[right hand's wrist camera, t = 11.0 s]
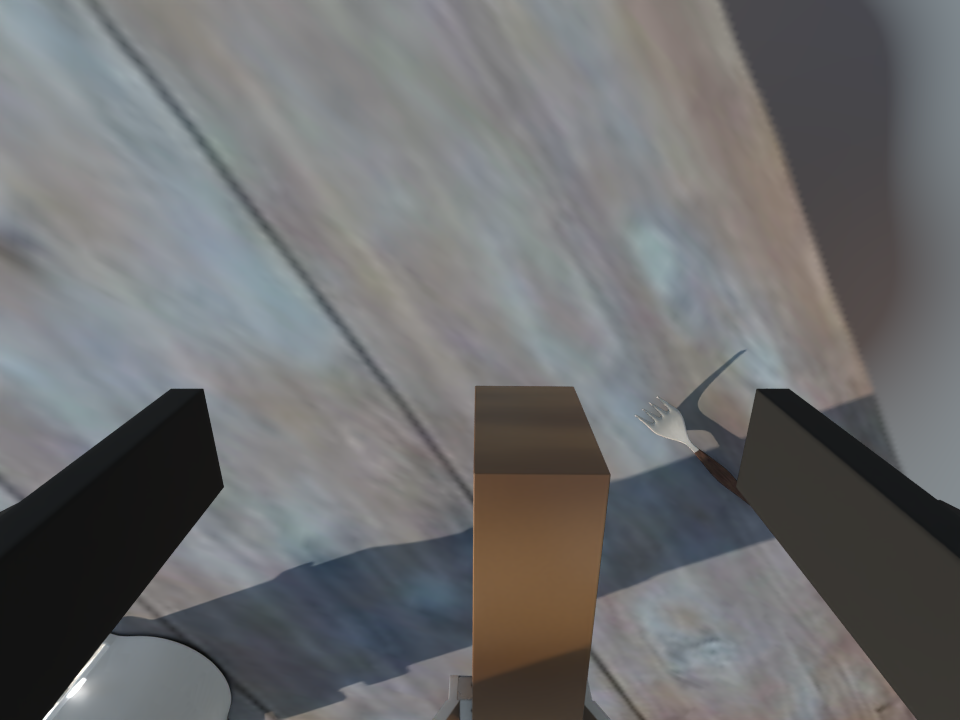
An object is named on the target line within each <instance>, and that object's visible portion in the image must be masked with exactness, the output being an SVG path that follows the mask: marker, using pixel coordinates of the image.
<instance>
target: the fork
mask: <svg viewBox="0 0 960 720" xmlns="http://www.w3.org/2000/svg"><path fill="white" fill-rule="evenodd" d="M657 398H658V399H659V400H660V401H661V402H662V403H663V404H664V405H665V406H666V407H667V408H668V411H664V410H662V409H660V408H659V407H657V406H655V405H654V404H652V403H650V404H651V405H652V406H653V407H654V408H655V409H656V410H657V411H658V412H659V413H660V414H661V417H657V416H655V415H654V414H652V413H650V412H648V411H646V410H645V409H643V410H644V411H645V412H646V413H647V414H648V415H649V416H650V417H651V418H652V419H653V420H654V423H650V422H648V421H647V420H645V419H643V418H641V417H639V416H637V415H635V416H636V417H637V418H639V419H640V420H641V421H642V422H643V423H644V424H646V425H647V426H648V427H649V428H650V429H651V430H652V431H653V432H654V433H656V434H658V435H660V436H662V437H665V438H669V439H672V440H676V441H679V442H682V443H684V444H686V445H687V446H688V447H689V448H690V449H691V450H692V451H693V452H694V453H695V454H696V456H697V457H698V458H699V459H700V461H701V462H702V463H703V464H704V466H705V467H706V468H707V469H708V470H709V472H710V473H711V474H712V475H713V476H714V477H715V478H716V479H717V480H718V481H719V482H720V483H721V484H722V485H724V486H725V487H726V488H728V489H729V490H730V491H732V492H733V493H734V494H736V495H737V496H739V497H740V498H741V499H743V500H744V501H745V502H746V503H748V502H747V500H746V499H745V498H744V497H743V495H742V494H741V493H740V491H739V490H738V489H737V488H736V485H737V480H736V479H735V478H734V477H733V476H732V475H731V474H730V473H729V472H728V471H727V470H726V469H725V468H724V467H723V466H721V465H720V464H719V463H718V462H716V461H715V460H714V459H712V458H711V457H709V456H708V455H707V454H705V453H704V452H703V451H701V450H700V449H699V448H697V447H696V446H695V445H694V444H692V442H691V441H690V440H689V438H688V434H687V430H686V426H685V422H684V418H683V416H682V414H681V413H680V411H679V410H678V409H676V408H675V407H673V406H672V405H670V404H669V403H668V402H666V401H664V400H663V399H661V398H660V397H658V396H657ZM748 504H749V503H748ZM749 505H750V504H749Z"/></svg>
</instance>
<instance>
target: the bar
mask: <svg viewBox="0 0 960 720" xmlns="http://www.w3.org/2000/svg"><path fill="white" fill-rule="evenodd" d="M609 484H610V472H609V470H608V467H607V465H606V463H605V460H604V458H603V456H602V453H601V451H600V448H599V446H598V444H597V441H596V439H595V436H594V434H593V432H592V429H591V427H590V425H589V422H588V420H587V417H586V415H585V413H584V410H583V408H582V406H581V403H580V401H579V398H578V396H577V394H576V391H575V389H574V387H556V386H475V421H474V484H473V665H472V720H583V713H584V704H585V695H586V686H587V678H588V669H589V660H590V651H591V643H592V634H593V625H594V616H595V607H596V599H597V590H598V581H599V572H600V563H601V555H602V546H603V537H604V528H605V519H606V511H607V502H608V493H609Z"/></svg>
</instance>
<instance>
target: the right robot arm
mask: <svg viewBox="0 0 960 720" xmlns="http://www.w3.org/2000/svg"><path fill="white" fill-rule="evenodd" d="M223 488H224V485H223V480H222V475H221V471H220V466H219V461H218V456H217V451H216V447H215V442H214V437H213V432H212V428H211V423H210V418H209V413H208V408H207V404H206V399H205V394H204V389H170V390H169V391H168V392H166V393H165V394H163V395H162V396H161V397H159V398H158V399H157V400H155V401H154V402H153V403H151V404H150V405H149V406H147V407H146V408H145V409H143V410H142V411H141V412H139V413H138V414H137V415H135V416H134V417H133V418H131V419H130V420H129V421H127V422H126V423H125V424H123V425H122V426H121V427H119V428H118V429H117V430H115V431H114V432H113V433H111V434H110V435H109V436H107V437H106V438H105V439H103V440H102V441H101V442H99V443H98V444H97V445H95V446H94V447H93V448H91V449H90V450H89V451H87V452H86V453H85V454H83V455H82V456H81V457H79V458H78V459H77V460H75V461H74V462H73V463H71V464H70V465H69V466H67V467H66V468H65V469H63V470H62V471H61V472H59V473H58V474H57V475H55V476H54V477H53V478H51V479H50V480H49V481H47V482H46V483H45V484H43V485H42V486H41V487H39V488H38V489H37V490H35V491H34V492H33V493H31V494H30V495H29V496H27V497H26V498H25V499H23V500H22V501H21V502H19V503H17V504H15V505H13V506H11V507H9V508H7V509H5V510H3V511H1V512H0V720H43V719H44V718H45V716H46V715H47V714H48V713H49V711H50V710H51V709H52V707H53V706H54V705H55V704H56V702H57V701H58V700H59V698H60V697H61V696H62V695H63V693H64V692H65V691H66V689H67V688H68V687H69V686H70V684H71V683H72V682H73V680H74V679H75V678H76V677H77V675H78V674H79V673H80V671H81V670H82V669H83V668H84V666H85V665H86V664H87V662H88V661H89V660H90V659H91V657H92V656H93V655H94V653H95V652H96V651H97V650H98V648H99V647H100V646H101V644H102V643H103V642H104V641H105V639H106V638H107V637H108V635H109V634H110V633H111V632H112V630H113V629H114V628H115V626H116V625H117V624H118V623H119V621H120V620H121V619H122V617H123V616H124V615H125V614H126V612H127V611H128V610H129V608H130V607H131V606H132V605H133V603H134V602H135V601H136V599H137V598H138V597H139V596H140V594H141V593H142V592H143V590H144V589H145V588H146V587H147V585H148V584H149V583H150V581H151V580H152V579H153V578H154V576H155V575H156V574H157V572H158V571H159V570H160V569H161V567H162V566H163V565H164V563H165V562H166V561H167V560H168V558H169V557H170V556H171V554H172V553H173V552H174V551H175V549H176V548H177V547H178V545H179V544H180V543H181V542H182V540H183V539H184V538H185V536H186V535H187V534H188V533H189V531H190V530H191V529H192V527H193V526H194V525H195V524H196V522H197V521H198V520H199V518H200V517H201V516H202V515H203V513H204V512H205V511H206V509H207V508H208V507H209V506H210V504H211V503H212V502H213V500H214V499H215V498H216V497H217V495H218V494H219V493H220V491H221V490H222V489H223ZM736 488H737V489H738V490H739V491H740V493H741V494H742V495H743V497H744V498H745V499H746V500H747V502H748V503H749V504H750V506H751V507H752V508H753V509H754V511H755V512H756V513H757V515H758V516H759V517H760V518H761V520H762V521H763V522H764V524H765V525H766V526H767V527H768V529H769V530H770V531H771V533H772V534H773V535H774V536H775V538H776V539H777V540H778V542H779V543H780V544H781V545H782V547H783V548H784V549H785V551H786V552H787V553H788V554H789V556H790V557H791V558H792V560H793V561H794V562H795V563H796V565H797V566H798V567H799V569H800V570H801V571H802V572H803V574H804V575H805V576H806V578H807V579H808V580H809V581H810V583H811V584H812V585H813V587H814V588H815V589H816V590H817V592H818V593H819V594H820V596H821V597H822V598H823V599H824V601H825V602H826V603H827V605H828V606H829V607H830V608H831V610H832V611H833V612H834V614H835V615H836V616H837V617H838V619H839V620H840V621H841V623H842V624H843V625H844V626H845V628H846V629H847V630H848V632H849V633H850V634H851V635H852V637H853V638H854V639H855V641H856V642H857V643H858V644H859V646H860V647H861V648H862V650H863V651H864V652H865V653H866V655H867V656H868V657H869V659H870V660H871V661H872V662H873V664H874V665H875V666H876V668H877V669H878V670H879V671H880V673H881V674H882V675H883V677H884V678H885V679H886V680H887V682H888V683H889V684H890V686H891V687H892V688H893V689H894V691H895V692H896V693H897V695H898V696H899V697H900V698H901V700H902V701H903V702H904V704H905V705H906V706H907V707H908V709H909V710H910V711H911V713H912V714H913V715H914V716H915V718H916V719H917V720H960V510H959V509H957V508H955V507H953V506H951V505H949V504H947V503H945V502H943V501H941V500H937V499H935V498H934V497H933V496H931V495H930V494H929V493H927V492H926V491H925V490H923V489H922V488H921V487H919V486H918V485H917V484H915V483H914V482H913V481H911V480H910V479H909V478H907V477H906V476H905V475H903V474H902V473H901V472H899V471H898V470H897V469H895V468H894V467H893V466H891V465H890V464H889V463H887V462H886V461H885V460H883V459H882V458H881V457H879V456H878V455H877V454H875V453H874V452H873V451H871V450H870V449H869V448H867V447H866V446H865V445H863V444H862V443H861V442H859V441H858V440H857V439H855V438H854V437H853V436H851V435H850V434H849V433H847V432H846V431H845V430H843V429H842V428H841V427H839V426H838V425H837V424H835V423H834V422H833V421H831V420H830V419H829V418H827V417H826V416H825V415H823V414H822V413H821V412H819V411H818V410H817V409H815V408H814V407H813V406H811V405H810V404H809V403H807V402H806V401H805V400H803V399H802V398H801V397H799V396H798V395H797V394H795V393H794V392H792V391H791V390H790V389H756V394H755V399H754V404H753V408H752V413H751V418H750V423H749V428H748V432H747V437H746V442H745V447H744V451H743V456H742V461H741V466H740V471H739V475H738V480H737V485H736Z"/></svg>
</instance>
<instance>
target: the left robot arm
mask: <svg viewBox="0 0 960 720" xmlns="http://www.w3.org/2000/svg"><path fill="white" fill-rule="evenodd" d="M230 705H231V692H230V688H229V685H228V683H227V681H226V679H225V677H224V676H223V674H222V673H221V671H220V670H219V669H218V668H217V667H216V666H215V665H214V664H213V663H212V662H211V661H210V660H209V659H207V658H206V657H205V656H203V655H202V654H200V653H199V652H197V651H195V650H193V649H192V648H190V647H187V646H185V645H183V644H180V643H178V642H175V641H171V640H168V639H163V638H158V637H150V636H118V635H114V634H109V635H108V637H107V638H106V639H105V641H104V642H103V643H102V644H101V646H100V647H99V648H98V650H97V651H96V652H95V653H94V655H93V656H92V657H91V659H90V660H89V661H88V662H87V664H86V665H85V666H84V668H83V669H82V670H81V671H80V673H79V674H78V675H77V677H76V678H75V679H74V680H73V682H72V683H71V684H70V686H69V687H68V688H67V689H66V691H65V692H64V693H63V695H62V696H61V697H60V698H59V700H58V701H57V702H56V704H55V705H54V706H53V707H52V709H51V710H50V711H49V713H48V714H47V715H46V716H45V718H44V719H43V720H227V717H228V712H229V709H230ZM433 720H472V676H455V675H450V685H449V700H446V702H445V703H444V704H443V706H442V707H441V709H440V710H439V711H438V713H437V714H436V716H435V717H434V718H433ZM583 720H611V719H610V718H609V717H608V716H607V715H606V714H605V713H604V711H603V710H602V709H601V708H600V707H599V706H598V704H597V703H596V702H595V701H592V697H591V693H590V688H589V683H588V679H587V686H586V695H585V704H584V713H583Z"/></svg>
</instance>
